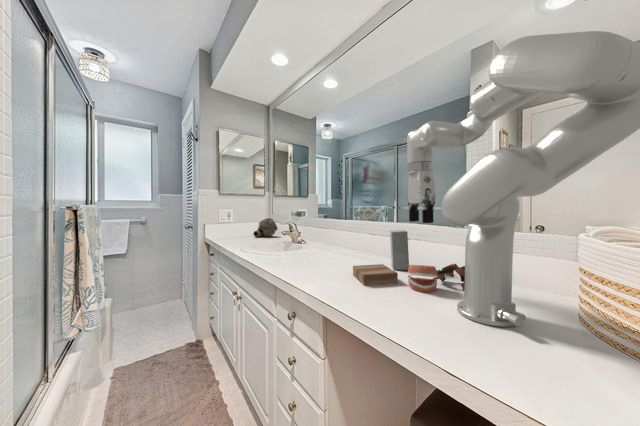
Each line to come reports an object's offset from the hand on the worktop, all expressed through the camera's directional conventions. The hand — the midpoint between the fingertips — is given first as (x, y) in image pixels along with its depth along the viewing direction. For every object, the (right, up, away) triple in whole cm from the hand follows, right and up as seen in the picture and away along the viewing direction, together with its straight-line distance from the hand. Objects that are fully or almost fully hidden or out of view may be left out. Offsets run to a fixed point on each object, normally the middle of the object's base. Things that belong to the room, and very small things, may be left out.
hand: (420, 222), depth 81 cm
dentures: (0, -22, -2) cm, 22 cm away
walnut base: (-13, -21, +9) cm, 27 cm away
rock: (-78, -17, +120) cm, 144 cm away
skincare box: (0, -20, +23) cm, 31 cm away
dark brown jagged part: (+12, -21, +2) cm, 25 cm away
